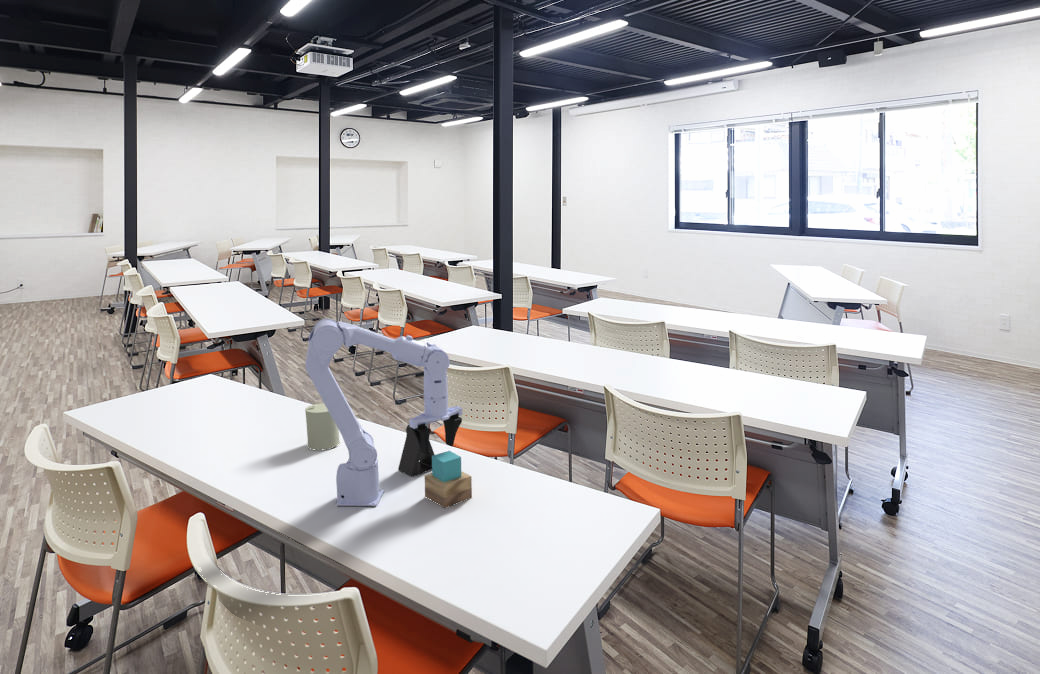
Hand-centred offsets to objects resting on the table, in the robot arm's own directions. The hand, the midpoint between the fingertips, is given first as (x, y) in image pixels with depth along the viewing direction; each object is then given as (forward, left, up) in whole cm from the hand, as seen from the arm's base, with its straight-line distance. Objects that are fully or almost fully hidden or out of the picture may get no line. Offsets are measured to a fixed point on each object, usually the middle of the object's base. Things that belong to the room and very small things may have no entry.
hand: (437, 449), depth 152 cm
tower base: (+3, -5, -11) cm, 12 cm away
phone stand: (-7, +12, -11) cm, 18 cm away
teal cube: (+3, -5, -5) cm, 8 cm away
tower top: (+3, -5, -8) cm, 10 cm away
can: (-38, +29, -11) cm, 49 cm away
